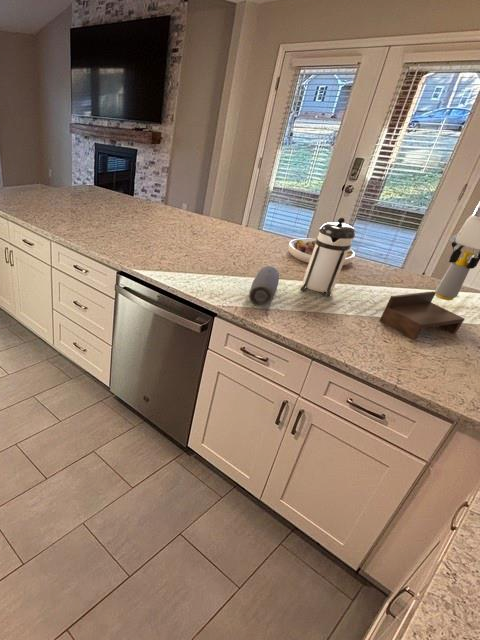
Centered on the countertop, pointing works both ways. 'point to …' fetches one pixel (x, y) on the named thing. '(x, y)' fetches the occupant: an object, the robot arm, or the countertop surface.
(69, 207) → the countertop surface
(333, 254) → the coffee press
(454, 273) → the soap bottle
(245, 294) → the countertop surface
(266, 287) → the bluetooth speaker
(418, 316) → the shelf
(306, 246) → the bowl
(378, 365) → the countertop surface
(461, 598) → the countertop surface
